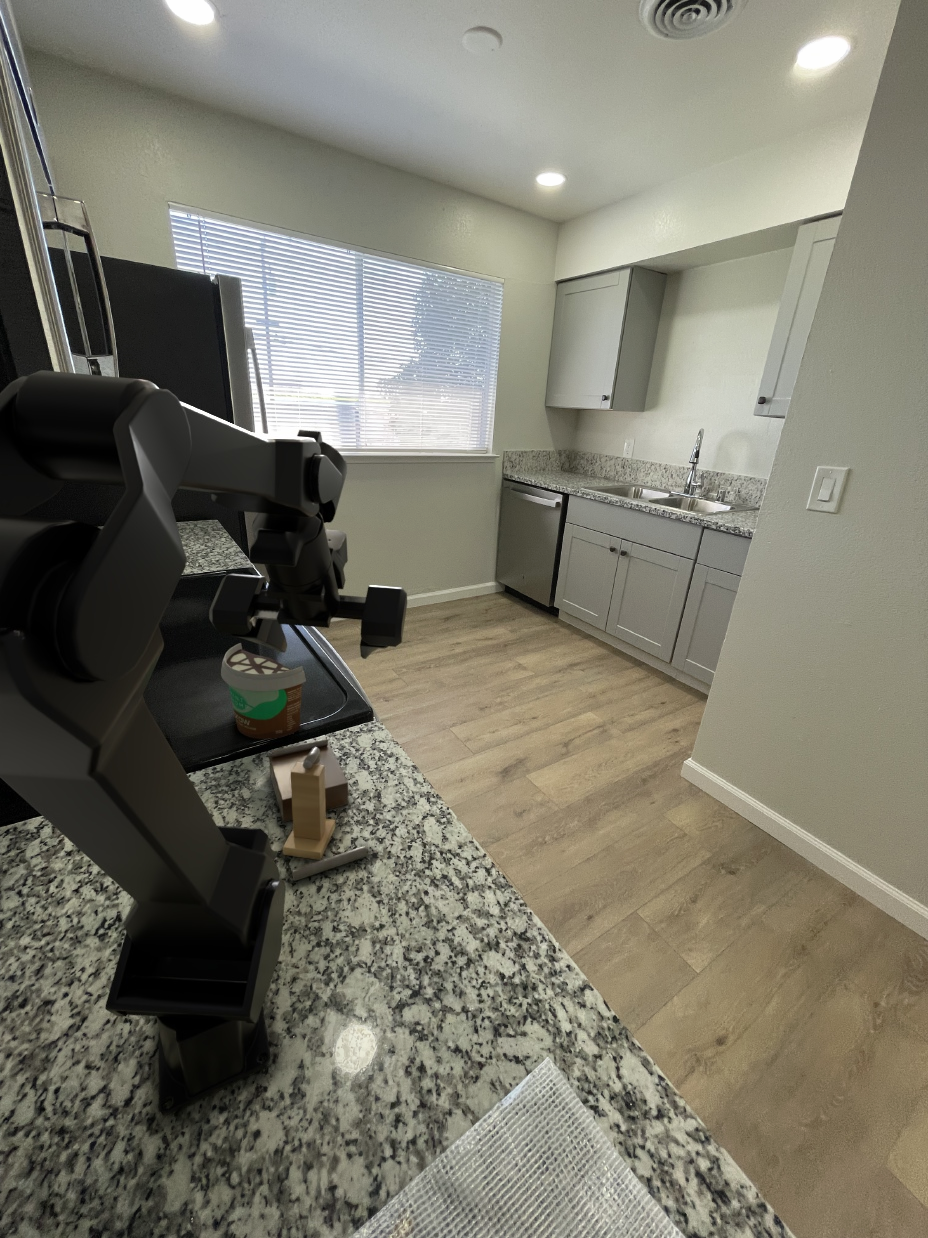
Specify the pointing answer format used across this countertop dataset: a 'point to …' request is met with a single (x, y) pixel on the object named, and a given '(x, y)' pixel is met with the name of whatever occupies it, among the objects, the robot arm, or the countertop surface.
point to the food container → (263, 694)
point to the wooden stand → (334, 795)
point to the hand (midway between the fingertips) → (325, 652)
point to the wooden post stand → (309, 810)
